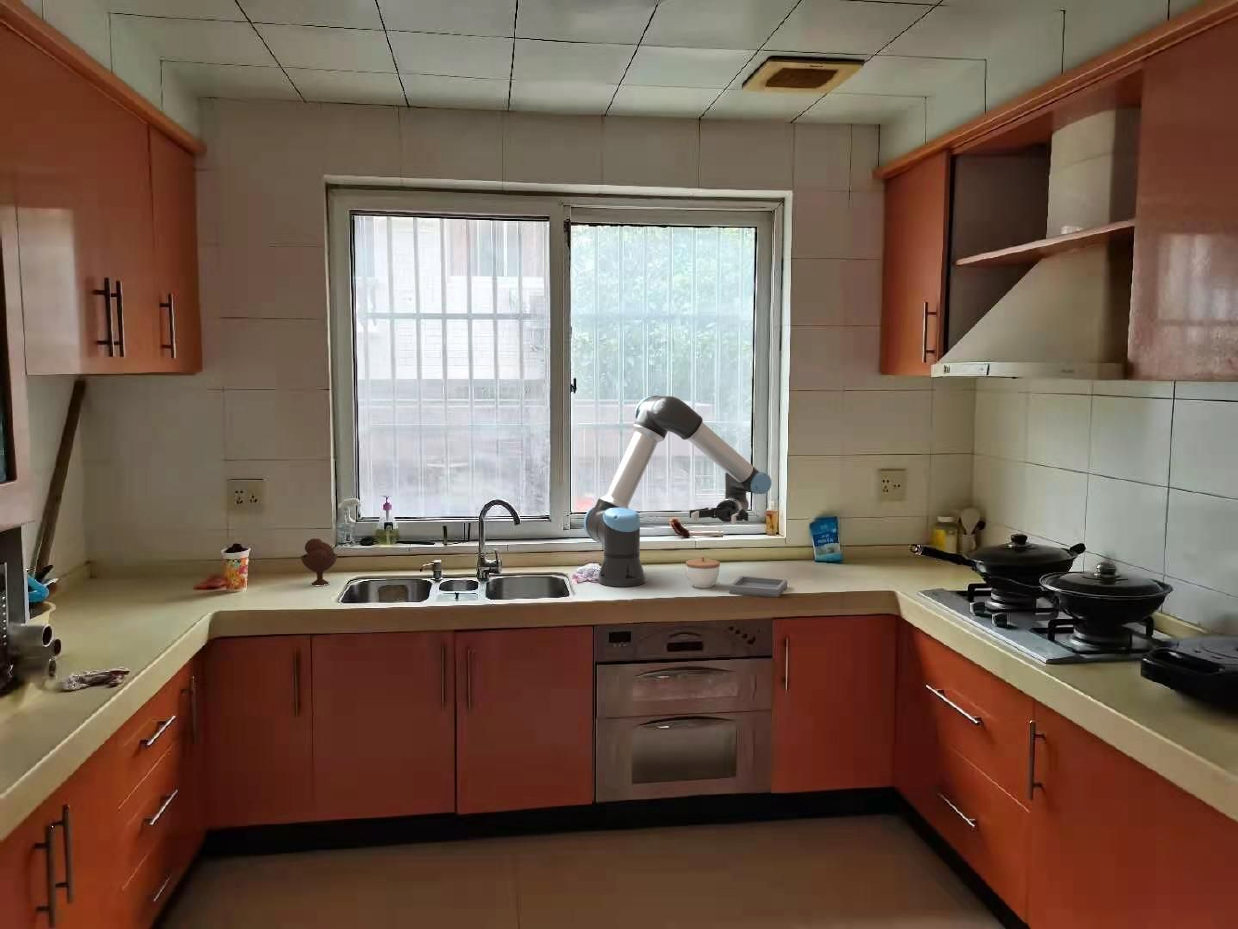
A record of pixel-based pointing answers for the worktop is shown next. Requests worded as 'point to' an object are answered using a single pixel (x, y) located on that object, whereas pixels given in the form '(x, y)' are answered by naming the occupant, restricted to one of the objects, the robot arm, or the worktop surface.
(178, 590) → the worktop surface
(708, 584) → the lidded jar
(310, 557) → the ice cream bowl
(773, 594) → the tray
